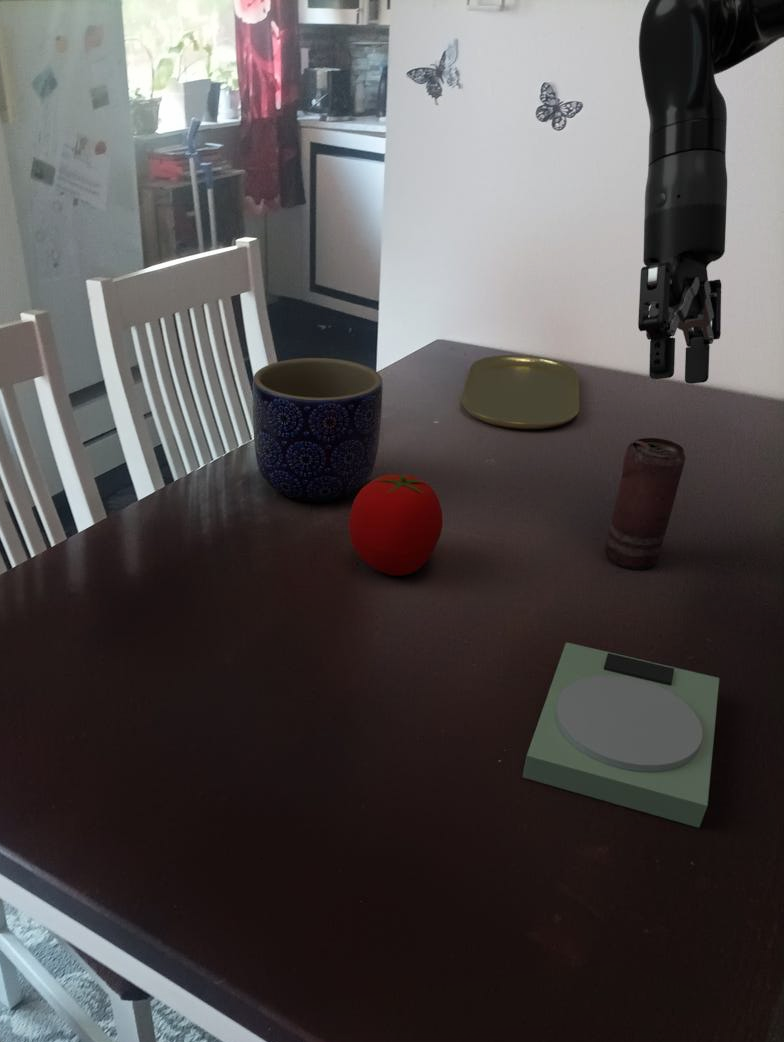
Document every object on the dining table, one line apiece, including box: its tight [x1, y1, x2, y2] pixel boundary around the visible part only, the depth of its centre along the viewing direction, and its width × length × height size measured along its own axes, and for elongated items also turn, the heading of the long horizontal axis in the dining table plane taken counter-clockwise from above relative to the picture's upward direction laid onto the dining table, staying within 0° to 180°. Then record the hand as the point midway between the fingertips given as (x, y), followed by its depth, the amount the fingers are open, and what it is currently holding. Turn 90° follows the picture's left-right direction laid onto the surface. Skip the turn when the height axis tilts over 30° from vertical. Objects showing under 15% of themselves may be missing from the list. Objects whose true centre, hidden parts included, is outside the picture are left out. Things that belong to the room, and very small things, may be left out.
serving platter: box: [460, 354, 580, 431], centre depth 152 cm, size 19×35×2 cm, turn 166°
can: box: [604, 437, 686, 571], centre depth 102 cm, size 6×6×14 cm
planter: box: [252, 357, 383, 503], centre depth 118 cm, size 17×16×15 cm
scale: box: [522, 641, 720, 829], centre depth 79 cm, size 18×14×3 cm
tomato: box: [348, 473, 443, 577], centre depth 101 cm, size 10×11×11 cm
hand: (679, 380), depth 92 cm, fingers open, 8 cm apart
